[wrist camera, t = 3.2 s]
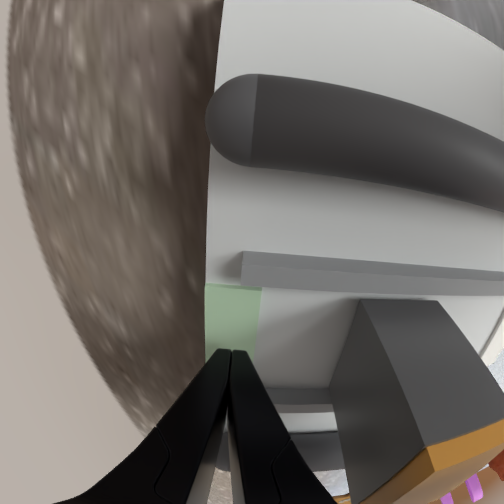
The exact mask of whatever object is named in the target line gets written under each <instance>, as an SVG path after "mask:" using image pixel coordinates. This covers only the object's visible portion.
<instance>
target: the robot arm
mask: <svg viewBox="0 0 504 504" xmlns="http://www.w3.org/2000/svg"><path fill="white" fill-rule="evenodd" d="M227 407H228V409H227ZM226 417H227V429H228V444H229V458H230V471H231V484H232V495H233V504H338V503H337V502H336V501H335V500H334V498H333V497H332V496H331V495H330V494H329V492H328V491H327V490H326V489H325V487H324V486H323V485H322V484H321V483H320V481H319V480H318V479H317V477H316V476H315V475H314V473H313V472H312V471H311V469H310V468H309V466H308V465H307V463H306V462H305V460H304V459H303V457H302V455H301V454H300V452H299V450H298V449H297V447H296V445H295V443H294V441H293V440H291V436H290V434H289V432H288V431H287V429H286V427H285V425H284V423H283V421H282V419H281V417H280V416H279V414H278V412H277V410H276V408H275V406H274V404H273V402H272V400H271V398H270V396H269V394H268V392H267V391H266V389H265V387H264V385H263V383H262V381H261V379H260V377H259V375H258V373H257V371H256V369H255V367H254V365H253V363H252V361H251V359H250V357H249V355H248V353H247V351H245V350H236V349H234V350H232V351H231V349H225V348H218V349H216V351H215V352H214V353H213V354H212V356H211V357H210V358H209V360H208V361H207V362H206V363H205V365H204V366H203V367H202V369H201V370H200V371H199V372H198V374H197V375H196V376H195V377H194V379H193V380H192V381H191V383H190V384H189V385H188V386H187V388H186V389H185V390H184V391H183V393H182V394H181V395H180V396H179V398H178V399H177V400H176V401H175V403H174V404H173V405H172V406H171V408H170V409H169V410H168V411H167V412H166V414H165V415H164V416H163V417H162V419H161V420H160V421H159V422H158V423H157V425H156V427H154V428H153V429H152V431H151V432H150V433H149V434H148V435H147V437H146V438H145V439H144V440H143V441H142V442H141V443H140V445H139V446H138V447H137V448H136V449H135V450H134V451H133V452H132V453H131V454H130V455H128V457H126V458H125V459H124V460H123V461H122V462H121V463H120V464H119V465H118V466H116V467H115V468H114V469H113V470H112V471H111V472H109V473H108V474H107V475H106V476H105V477H103V478H102V479H101V480H100V481H99V482H97V483H96V484H95V485H94V486H93V487H91V488H90V489H89V490H87V491H86V492H84V493H82V494H81V495H79V496H76V497H74V498H71V499H68V500H65V501H61V502H57V503H54V504H207V500H208V496H209V492H210V488H211V483H212V479H213V475H214V471H215V466H216V462H217V458H218V453H219V449H220V445H221V440H222V436H223V432H224V427H225V423H226Z"/></svg>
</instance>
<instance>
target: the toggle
mask: <svg viewBox="0 0 504 504" xmlns="http://www.w3.org/2000/svg"><path fill="white" fill-rule="evenodd" d="M328 387H329V391H330V396H331V401H332V405H333V410H334V415H335V419H336V424H337V429H338V434H339V439H340V444H341V449H342V454H343V460H344V465H345V470H346V476H347V481H348V487H349V493H350V499H351V504H428V503H431V502H433V501H436V500H438V499H440V498H442V497H443V496H445V495H446V494H448V493H449V492H450V491H452V490H454V489H455V488H456V487H458V486H459V485H461V484H462V483H463V482H465V481H466V480H467V479H469V478H470V477H471V476H473V475H474V474H475V473H477V472H478V471H479V470H480V469H482V468H483V467H484V466H485V465H486V464H488V463H489V462H490V461H491V460H492V459H493V458H495V457H496V456H497V455H498V454H499V453H500V452H501V451H502V450H503V449H504V393H503V391H502V390H501V388H500V386H499V385H498V383H497V382H496V380H495V379H494V377H493V376H492V374H491V372H490V371H489V369H488V368H487V366H486V365H485V363H484V362H483V361H482V359H481V358H480V356H479V355H478V353H477V352H476V350H475V349H474V348H473V346H472V345H471V343H470V342H469V341H468V339H467V338H466V337H465V335H464V334H463V333H462V331H461V330H460V329H459V327H458V326H457V325H456V323H455V322H454V321H453V319H452V318H451V317H450V316H449V314H448V313H447V312H446V310H445V309H444V308H443V307H442V305H441V304H440V303H439V302H438V300H391V299H361V298H360V300H359V303H358V306H357V309H356V312H355V315H354V318H353V321H352V324H351V327H350V330H349V333H348V336H347V339H346V342H345V344H344V347H343V350H342V353H341V355H340V358H339V361H338V363H337V366H336V368H335V371H334V373H333V376H332V378H331V381H330V383H329V386H328Z"/></svg>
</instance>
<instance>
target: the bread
mask: <svg viewBox="0 0 504 504" xmlns="http://www.w3.org/2000/svg"><path fill="white" fill-rule="evenodd" d="M488 464H489V466H490V468H492V469H493V470H494V471H496V472H497V473H498V475H499V477H500V479H501V480H502V481H504V449H503V450H502V451H501V452H500V453H499V454H498V455H497V456H496V457H495V458H493V459H492V460H491V461H490V462H489V463H488Z"/></svg>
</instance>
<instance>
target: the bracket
mask: <svg viewBox="0 0 504 504" xmlns="http://www.w3.org/2000/svg"><path fill="white" fill-rule="evenodd" d="M465 483H466V486H467V489H468V491H469V494H470V497H471V499H472V501H473V502H475V501H477V500H479V499H481V498H482V497H483V492H482V488H481V485H480V483H479V480H478V477H477V475H476V473H475V474H474V475H473V476H471V477H470V478H469V479H467V480H466V481H465ZM440 499H441V502H442V504H453V500H452V497H451V494H450V492H449V493H448V494H446V495H445V496H443V497H442V498H440Z"/></svg>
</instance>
